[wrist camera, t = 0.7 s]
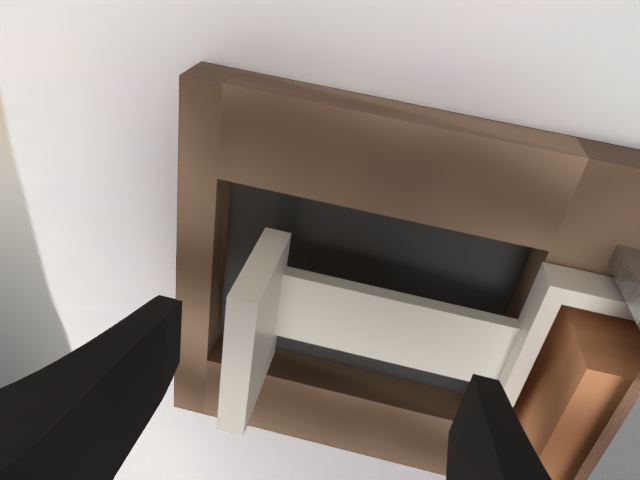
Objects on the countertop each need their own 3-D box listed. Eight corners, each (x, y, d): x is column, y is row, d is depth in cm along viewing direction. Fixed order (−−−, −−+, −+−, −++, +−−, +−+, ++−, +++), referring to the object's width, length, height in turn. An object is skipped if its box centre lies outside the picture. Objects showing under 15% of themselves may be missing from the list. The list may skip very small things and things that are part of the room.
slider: (723, 482, 23) (779, 594, 19) (249, 366, 25) (214, 449, 21) (849, 329, 19) (954, 435, 15) (268, 201, 20) (228, 267, 17)
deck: (846, 541, 26) (875, 584, 24) (189, 377, 29) (173, 406, 27) (1163, 255, 18) (1239, 291, 16) (201, 61, 20) (179, 74, 19)
